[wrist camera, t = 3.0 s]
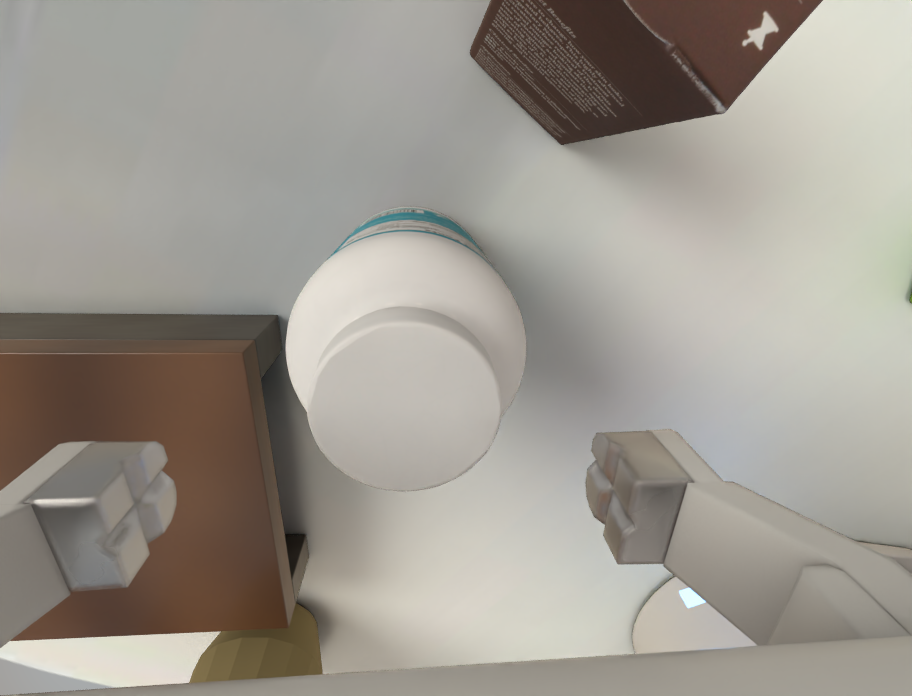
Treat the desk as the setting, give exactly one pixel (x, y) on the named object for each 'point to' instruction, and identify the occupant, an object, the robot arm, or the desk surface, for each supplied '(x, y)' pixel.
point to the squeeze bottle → (263, 652)
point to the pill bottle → (406, 351)
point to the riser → (189, 463)
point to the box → (629, 58)
